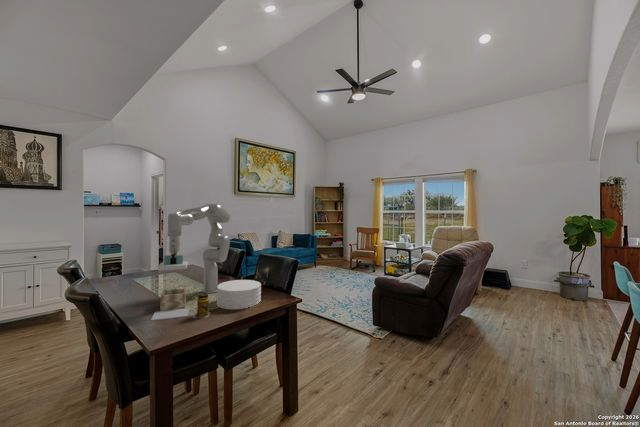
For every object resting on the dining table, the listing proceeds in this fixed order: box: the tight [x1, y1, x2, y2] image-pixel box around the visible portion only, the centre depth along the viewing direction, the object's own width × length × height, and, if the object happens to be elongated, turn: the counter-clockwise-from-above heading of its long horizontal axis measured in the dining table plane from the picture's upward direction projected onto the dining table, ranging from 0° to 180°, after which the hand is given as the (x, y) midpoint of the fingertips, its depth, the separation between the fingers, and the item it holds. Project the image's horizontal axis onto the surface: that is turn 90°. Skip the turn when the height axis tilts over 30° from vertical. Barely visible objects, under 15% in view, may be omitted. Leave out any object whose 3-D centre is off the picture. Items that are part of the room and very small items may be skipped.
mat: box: [150, 307, 190, 322], centre depth 157 cm, size 18×13×1 cm
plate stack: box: [216, 279, 262, 310], centre depth 181 cm, size 28×28×12 cm
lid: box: [157, 254, 189, 271], centre depth 167 cm, size 15×15×7 cm
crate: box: [159, 287, 187, 311], centre depth 171 cm, size 13×13×9 cm
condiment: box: [191, 293, 211, 319], centre depth 157 cm, size 7×8×12 cm
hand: (173, 263), depth 167 cm, fingers closed on lid, 3 cm apart
